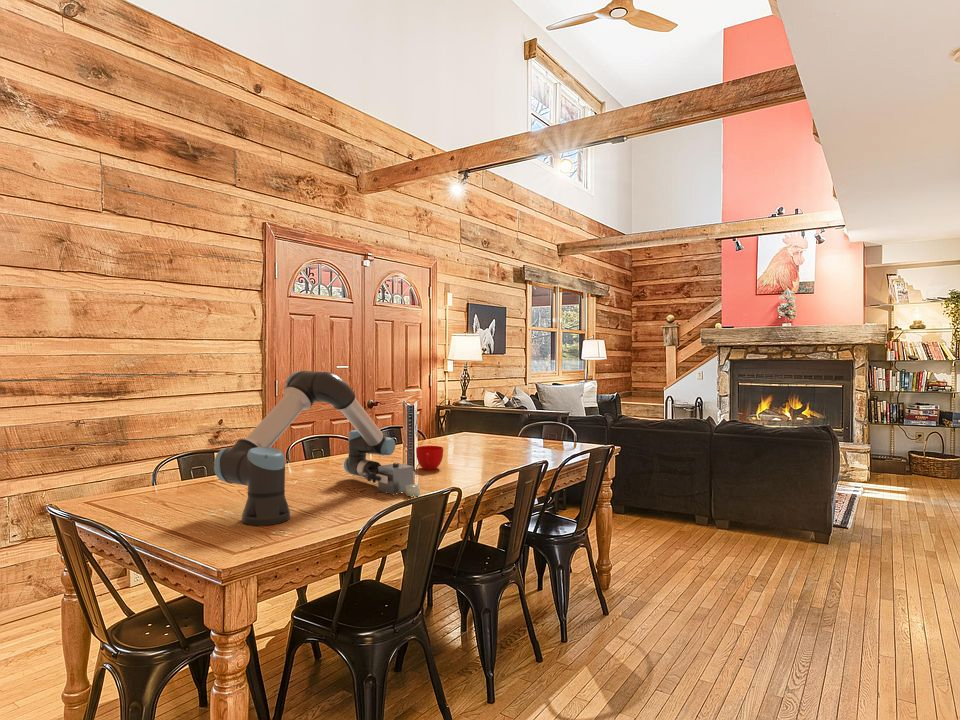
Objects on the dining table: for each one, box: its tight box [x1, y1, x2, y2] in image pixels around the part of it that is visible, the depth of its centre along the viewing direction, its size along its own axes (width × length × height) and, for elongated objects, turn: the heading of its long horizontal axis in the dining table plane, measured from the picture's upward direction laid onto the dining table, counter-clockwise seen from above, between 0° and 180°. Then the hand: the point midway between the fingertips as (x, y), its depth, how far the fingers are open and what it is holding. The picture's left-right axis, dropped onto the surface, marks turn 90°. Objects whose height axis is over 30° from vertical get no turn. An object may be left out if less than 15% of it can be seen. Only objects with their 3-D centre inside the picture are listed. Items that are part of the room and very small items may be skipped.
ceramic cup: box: [415, 445, 444, 471], centre depth 288 cm, size 13×17×10 cm
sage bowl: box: [405, 484, 421, 497], centre depth 236 cm, size 6×6×4 cm
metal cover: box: [377, 462, 414, 494], centre depth 244 cm, size 10×10×11 cm
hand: (400, 477), depth 241 cm, fingers open, 13 cm apart
